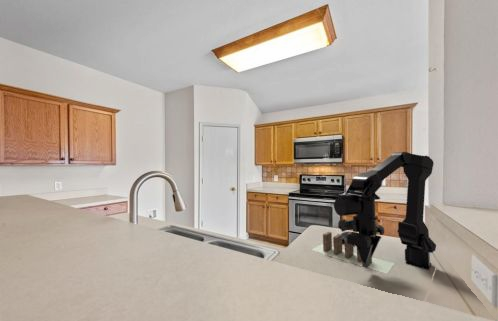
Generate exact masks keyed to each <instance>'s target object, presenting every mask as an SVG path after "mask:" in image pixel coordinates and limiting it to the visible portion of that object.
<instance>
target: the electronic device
mask: <svg viewBox="0 0 498 321" xmlns="http://www.w3.org/2000/svg"><path fill="white" fill-rule="evenodd" d="M352 232H353V231H343V232H342V233H340V234H341V235H342V241H344V240H345V239H346V236H348V235H349V234H351V233H352ZM355 233H358V232H355Z"/></svg>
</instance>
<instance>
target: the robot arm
mask: <svg viewBox="0 0 498 321" xmlns="http://www.w3.org/2000/svg"><path fill="white" fill-rule="evenodd" d="M401 167H402V171H403V173H404V175H405V177H406V178H407V189H406V190H407V191H406V206H405V207H406V209H405V218H404V219H403V220H402V221H398V224H397V231H396V233H397V234H398V237H399V240H400V243H401V244H402V245H405V246H406V247H405V249H404V260H405V264H406V265H409V266H413V267H416V268H421V269H424V270H427V271H428V270H430V268H431V265H432V262H431V254H430V253H432V254H433V253H434V252H436V248H437V244H436V243H435V242H434V240H432V239H431V237H430V234H429V229H428V227H427V225H426V224H425V221H424V211H425V194H426V193H425V192H426V182H427V181H426V180H428V178H429V177H430V176H431V175H432V173H433V168H434V160H433V159H432V158H431V157H430V156H428V155H421V154H414V153H411V152H406V151H398V152H393V153H391V154H390V156H388V158H387V157H386V158H385V160H384V161H383V160H382V162H380V163H379V164H377V165H376V166H375V167H373V168H372V169H371V170H368V171H366V172H361V173H359V174H357V175H355V176H354V177H352V179H351V183H350V184H349V186H348V188H347V190H346V191H345V194H342V193H341V194H340V193H339V194H337V198H336V199H335V201H334V203H333V208H334V209H333V210H334V211H335V213H336V214H337V215H338V216H339V217H343V216H344V217H345V216H353V217H352V218H349V219H345V218H344V219H339V220H338V223H337V225H338V226H337V228H338V229H340V231H341V232H342V233H344V232H347V231H351V232H352V233H351V234H349V235H348V236H346V243H347V244H351V245H353V246H355V247H356V250H357V249H358V251H359V254H360V257H361V260H362V262H363V263H366V262H367V260H368V257H369V254H370V252H371V249H372V257H373V255H374V253H375V251H376V249H377V247H378V245H379V243H380V241H381V240H382V236H383V235H385V227H384V226H382V225H381V224H377V223H376V221H377V220H378V216H377V215H376V200H377V201H378V200H380V199H381V196H379V195H378V194H376V192H377V191H378V190H379V189H380V188H381V187H382V185H383V181H384V180H385V179H386V178H388V177H389V176H390V175H391V174H393V173H394V172H396V171H397V170H398V169H400V168H401ZM355 232H357V233H355ZM377 233H379V235H377Z"/></svg>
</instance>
